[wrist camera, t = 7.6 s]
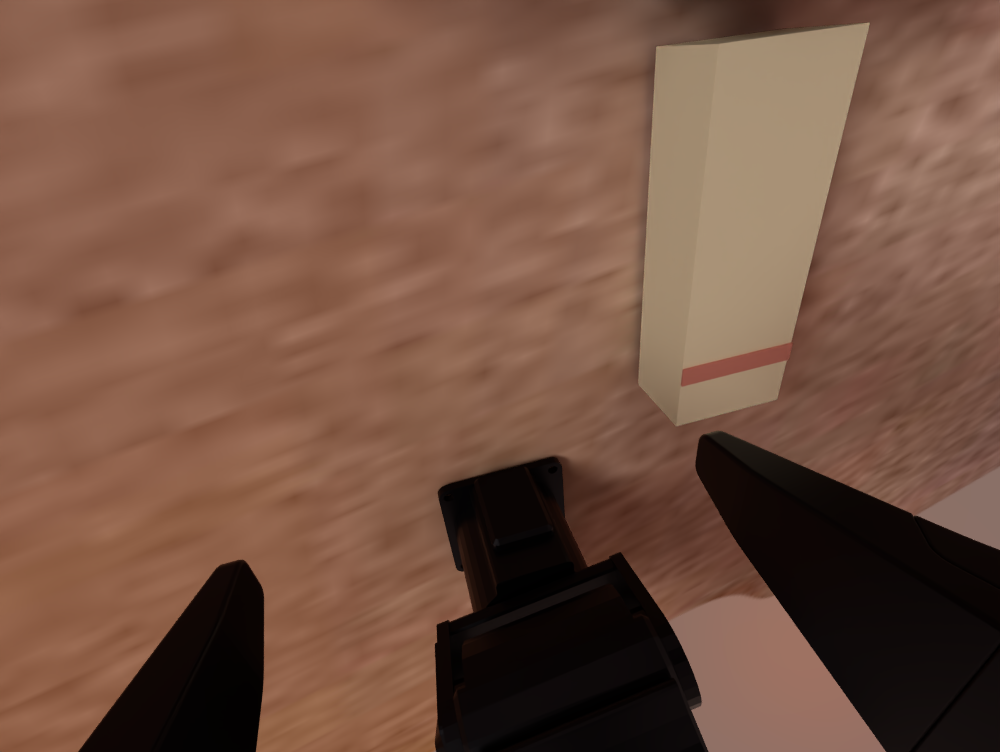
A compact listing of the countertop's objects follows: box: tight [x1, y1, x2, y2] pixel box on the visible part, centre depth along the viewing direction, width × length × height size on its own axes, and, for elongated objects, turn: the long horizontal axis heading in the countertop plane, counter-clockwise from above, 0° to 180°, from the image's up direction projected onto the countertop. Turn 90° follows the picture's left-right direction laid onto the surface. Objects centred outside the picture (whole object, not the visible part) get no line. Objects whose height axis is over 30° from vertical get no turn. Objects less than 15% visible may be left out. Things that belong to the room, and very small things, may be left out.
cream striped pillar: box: [638, 23, 870, 426], centre depth 20 cm, size 14×5×4 cm, turn 6°
